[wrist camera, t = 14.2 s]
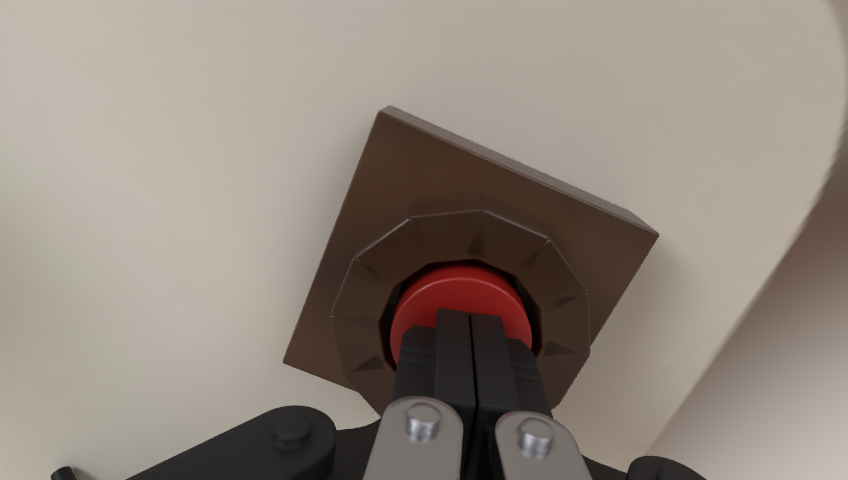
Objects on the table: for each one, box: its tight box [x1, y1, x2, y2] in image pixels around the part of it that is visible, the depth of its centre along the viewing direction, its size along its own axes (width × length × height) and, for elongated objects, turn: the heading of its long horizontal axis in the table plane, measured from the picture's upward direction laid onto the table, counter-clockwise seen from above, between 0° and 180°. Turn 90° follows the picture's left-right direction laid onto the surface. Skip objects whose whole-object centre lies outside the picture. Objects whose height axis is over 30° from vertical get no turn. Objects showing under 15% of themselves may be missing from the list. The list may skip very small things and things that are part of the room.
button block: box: [283, 106, 659, 417], centre depth 14 cm, size 8×8×4 cm
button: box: [390, 259, 532, 365], centre depth 13 cm, size 3×3×2 cm
